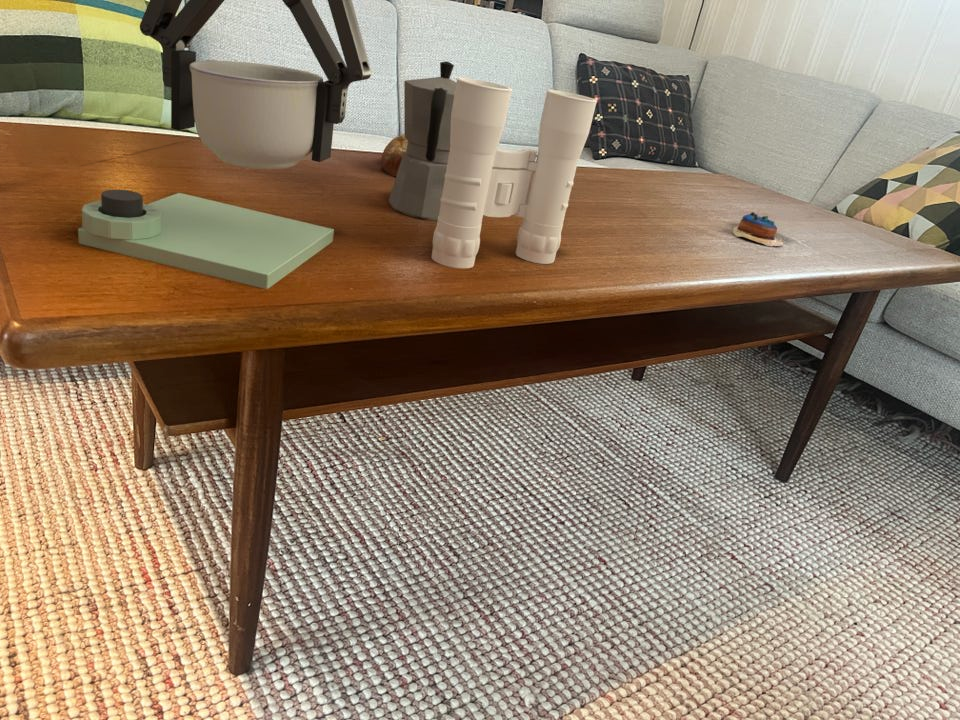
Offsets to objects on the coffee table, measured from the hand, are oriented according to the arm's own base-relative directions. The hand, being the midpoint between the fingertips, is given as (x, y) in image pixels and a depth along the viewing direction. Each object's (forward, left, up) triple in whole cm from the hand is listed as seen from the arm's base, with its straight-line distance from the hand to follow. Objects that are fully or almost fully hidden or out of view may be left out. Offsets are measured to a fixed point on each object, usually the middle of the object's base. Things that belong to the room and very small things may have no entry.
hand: (251, 143), depth 65 cm
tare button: (-8, -7, -7) cm, 13 cm away
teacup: (0, 0, -2) cm, 2 cm away
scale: (-2, -1, -10) cm, 10 cm away
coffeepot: (+11, +27, -10) cm, 30 cm away
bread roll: (+5, +47, -10) cm, 48 cm away
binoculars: (+22, +14, -10) cm, 28 cm away
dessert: (+59, +57, -10) cm, 82 cm away
